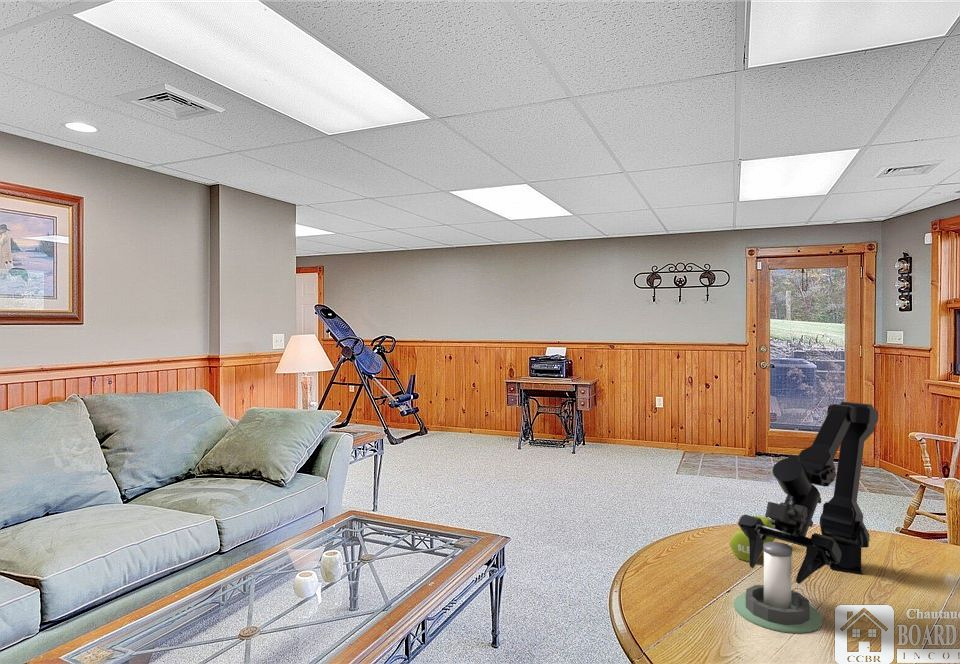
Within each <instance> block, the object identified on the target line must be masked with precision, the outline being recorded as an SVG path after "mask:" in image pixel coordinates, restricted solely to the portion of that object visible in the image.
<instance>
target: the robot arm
mask: <svg viewBox="0 0 960 664" xmlns="http://www.w3.org/2000/svg"><path fill="white" fill-rule="evenodd" d="M826 413H827V415H826V417H825V419H824V420H823V422H822V425H821V426H820V429H819V430H818V433H816V436H815V438H814V440H813V441H812V444H811V445H809V447H807V448H804V449H802V450H801V451H800V453H799V454H798V455H795V454H788V456H787V458H783V459H781V460H778V462H776V463H775V464H773V466H772V474H773V476H774V478H775V480H776V481H777V483H778V485H779V486H780V488H781V490H782V491H783V492H784V493H785V494H786V497H785V500H784V502H780V503H776V502H772V501H767V505H766V510H765V515H764V517H766V518H769V519H770V522H771V524H772V525H774V526H775V527H774V528H771V527H768V526H765V525H764V523H763V522H762V520H761V518H757V517H753V516H754V515H748V514H743V515H742V516H740V517H739V520H738V522H737V525H738V527H740V529H742V531H743V532H744V534H745V535H746V536H747V537H748V538H749V545H750V562H749V567H750V568H752V569H755V568H754V567H756V565H757V563H758V561H759V558H760V557H761V556H760V554H761V552H762V550H763V544H764V542H763V540H765V539H766V537H767V536H769V537H772V538H775V539H776V540H780V541H783V542H786V543H789V544H793V545H797V546H800V547H804V548H806V551H805V556H804V559H803V561H802V562H801V565H800V568H799V570H798V572H797V576H796V578H795V581H796V583H797V584H798V585H800V584H801V583H803V582H804V581H805V580H806V579H807V578H809V577H810V576H811V575H812V574H813V573H815V572H816V571H818V570H819V569H821V568H822V567H824V566H829V569H831V570H834V571H841V572H848V573H855V574H859V575H860V574H862V575H863V573H864V572H863V571H864V570H863V569H862V549H863V548H869V547H870V543H869V542H870V536H871V535H870V533H869V531H868V529H867V527H866V525H865V523H864V514H863V512H862V510H861V508H860V506H859V503H858V493H859V486H860V478H861V471H862V462H863V457H864V456H863V455H864V448H865V447H864V446H865V442H866V441H867V440H868V438H869V437H870V436H871V435H872V434H873V433H874V432H875V428H876V424H877V423H878V420H879V412H878V409H877V408H876V409H875V408H874V406H873V404H872V403H871V404H870V403H860V402H850V401H849V402H848V401H842V402H840V403H837V404H836V403H833V404H830V405H828V407H827V412H826ZM838 450H839V453H838V460H837V468H836V465H835V463H834V460H835V457H836V454H837V452H838ZM834 480H835V483H834V490H833V496H832V498H831V499H830V500H828V501H825V502H824V504H822V513H821V515H820V518H819V526H820V528H819V529H820V533H821V534H820V533H816V532H813V533H812V534H811V537H809V536H808V537H807V533H808V531H809V528H810V527H811V528H813V524H814V522H813V516H814V513H815V511H816V509H817V506H818V504H821V503H822V497H821V493H820V491H819V490H818V488H817V487H816V486H820V487H824V488H825V487H829V486H830V485H831V484H832V483H833V482H834Z"/></svg>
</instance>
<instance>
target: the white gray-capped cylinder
mask: <svg viewBox="0 0 960 664" xmlns="http://www.w3.org/2000/svg"><path fill="white" fill-rule="evenodd" d="M763 550H764V551H763V585H764V604H765V605H768V606H770V607H776V608H781V609H791V590H792V565H793V564H792V563H793V562H792V559H793V558H792V556H793V547H792V546H790V545H789V544H786V543H784V542H779V541H773V542H765V543H764V544H763Z"/></svg>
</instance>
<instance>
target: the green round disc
mask: <svg viewBox="0 0 960 664" xmlns="http://www.w3.org/2000/svg"><path fill="white" fill-rule="evenodd" d="M733 607H734V609H735V611H736V612H737V614H738V615H740V616H741V617H742V618H744V620H746V621H748V622H750V623H751V624H753V625H756V626H759V627H762V628H765V629H768V630H771V631H775V632H779V633H780V632H781V633H786V634H787V633H788V634H807V633H811V632H815V631H818V630H819V629H820V628H821V627H822V626H823V616H822V614H821V613H820V612H819V610H818V609H816V608H815V607H813V606H812V605H811V604H810V601H809V599H808V598H806V597H805V596H804V595H803V594H802V593H800V592H799V591H795V590H792V589H791V609H781V608H776V607H770V606H768V605H765V604H764V584H754V585H751V586H750V587H748V588H746V589H745V592H743V593H740V594H739V595H737V596H736V597H735V598H734V601H733Z"/></svg>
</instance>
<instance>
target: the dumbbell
mask: <svg viewBox="0 0 960 664" xmlns="http://www.w3.org/2000/svg"><path fill="white" fill-rule="evenodd" d="M752 516H753V517H757V518H761V520H762V522H763V523H764V525H765V526H768V527H771V528H774V527H775V525H772V524H771V522H770V520H771V518H769V517H768V518H767V517H765V516H762V515H761V516H760V515H752ZM775 539H776V538H772V537H769V536H767V537H766V539H765V540H763V542H764V543H765V542H775ZM729 546H730V548H731V551H732V552H733V554H734V556H735V557H736V558H737V559H738V560H740V559H741V561H744V560H746V561H745V562H748V561H750V545H749V538H748V537H747V536H746V535H745V534H744V532H743V531H742V529H741V528H740V529H738V530H737V531H736V532H734V534H733V535H732V537H731V538H730V540H729ZM763 554H764V550H762V552H761V554H760V557H761V556H762V555H763Z"/></svg>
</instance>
